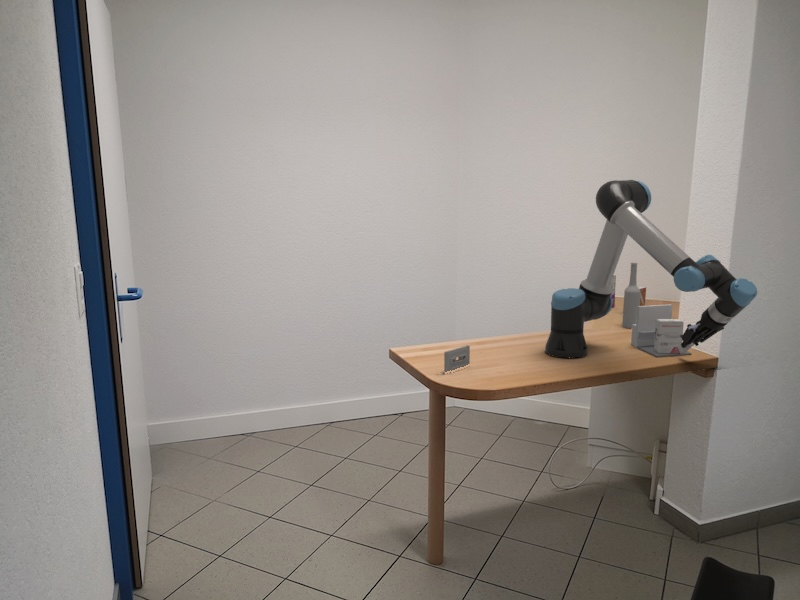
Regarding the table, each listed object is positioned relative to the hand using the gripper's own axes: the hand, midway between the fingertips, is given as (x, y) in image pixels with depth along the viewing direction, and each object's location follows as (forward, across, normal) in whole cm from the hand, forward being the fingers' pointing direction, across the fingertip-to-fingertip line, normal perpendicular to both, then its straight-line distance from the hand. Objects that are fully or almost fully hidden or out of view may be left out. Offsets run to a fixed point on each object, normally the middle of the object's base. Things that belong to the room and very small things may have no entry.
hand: (680, 350), depth 209 cm
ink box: (+7, 0, +4) cm, 8 cm away
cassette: (+7, -81, +2) cm, 81 cm away
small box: (+51, +25, +46) cm, 73 cm away
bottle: (+35, +9, +31) cm, 48 cm away
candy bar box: (+63, +19, +58) cm, 88 cm away
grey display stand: (+11, 0, +7) cm, 13 cm away
